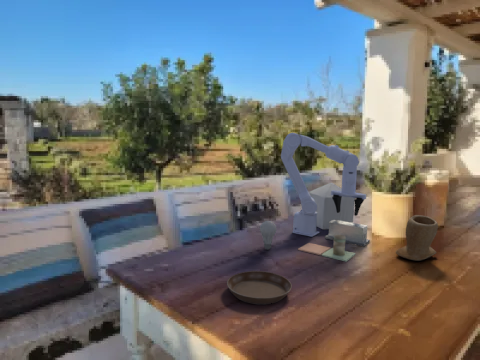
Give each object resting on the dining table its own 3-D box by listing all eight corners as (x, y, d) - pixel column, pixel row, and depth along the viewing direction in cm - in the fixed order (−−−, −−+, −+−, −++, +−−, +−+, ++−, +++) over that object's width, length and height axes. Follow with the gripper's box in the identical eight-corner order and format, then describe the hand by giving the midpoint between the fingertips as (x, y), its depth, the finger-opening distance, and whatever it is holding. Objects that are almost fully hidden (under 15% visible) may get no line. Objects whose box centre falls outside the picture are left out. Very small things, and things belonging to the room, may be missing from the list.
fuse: (331, 254, 128) (332, 236, 128) (335, 251, 132) (336, 233, 131) (342, 256, 126) (343, 238, 125) (346, 253, 129) (347, 236, 128)
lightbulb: (274, 253, 130) (275, 223, 128) (258, 251, 131) (258, 222, 130) (276, 247, 136) (277, 219, 134) (260, 246, 137) (261, 218, 135)
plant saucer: (252, 274, 111) (253, 265, 111) (303, 291, 100) (303, 281, 100) (213, 294, 98) (213, 284, 97) (266, 316, 87) (267, 305, 86)
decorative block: (306, 220, 177) (308, 180, 174) (334, 219, 181) (336, 180, 178) (323, 229, 161) (325, 186, 159) (353, 227, 166) (356, 185, 163)
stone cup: (423, 266, 119) (427, 223, 117) (390, 256, 129) (393, 215, 127) (445, 258, 128) (450, 217, 126) (413, 248, 138) (417, 210, 135)
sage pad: (321, 255, 128) (321, 254, 128) (331, 249, 135) (331, 247, 135) (346, 261, 123) (346, 260, 123) (355, 254, 130) (355, 253, 130)
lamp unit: (325, 238, 148) (326, 222, 147) (331, 234, 154) (332, 218, 153) (363, 246, 139) (365, 229, 138) (369, 242, 144) (370, 225, 143)
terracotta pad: (298, 250, 134) (298, 248, 134) (308, 244, 141) (308, 242, 141) (320, 255, 128) (320, 254, 128) (330, 248, 135) (330, 247, 135)
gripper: (328, 181, 151) (327, 212, 153) (363, 185, 143) (361, 218, 144) (335, 179, 157) (333, 210, 159) (368, 183, 148) (366, 215, 150)
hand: (347, 213), depth 152 cm, fingers open, 7 cm apart
